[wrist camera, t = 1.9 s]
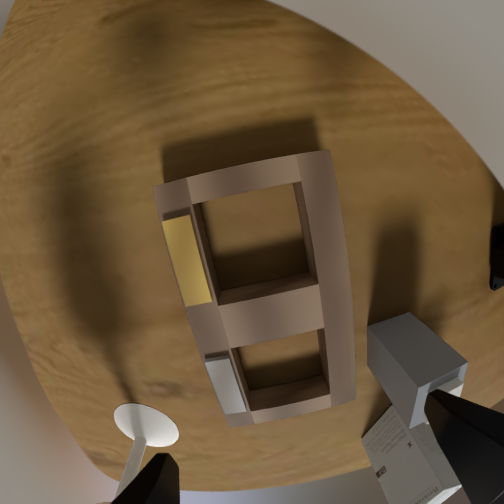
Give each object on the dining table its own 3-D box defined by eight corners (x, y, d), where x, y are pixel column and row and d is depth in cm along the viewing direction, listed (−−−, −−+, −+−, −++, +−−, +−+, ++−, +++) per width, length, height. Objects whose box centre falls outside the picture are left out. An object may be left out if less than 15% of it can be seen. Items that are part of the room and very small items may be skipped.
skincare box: (391, 401, 22) (445, 489, 10) (418, 404, 23) (471, 479, 11) (358, 441, 23) (393, 526, 11) (386, 441, 24) (424, 516, 12)
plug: (409, 311, 20) (475, 368, 11) (407, 350, 21) (461, 411, 12) (367, 326, 20) (424, 396, 11) (367, 365, 21) (413, 437, 12)
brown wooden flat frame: (317, 154, 17) (331, 148, 14) (346, 381, 21) (357, 402, 18) (164, 186, 17) (149, 187, 14) (230, 406, 21) (229, 430, 18)
